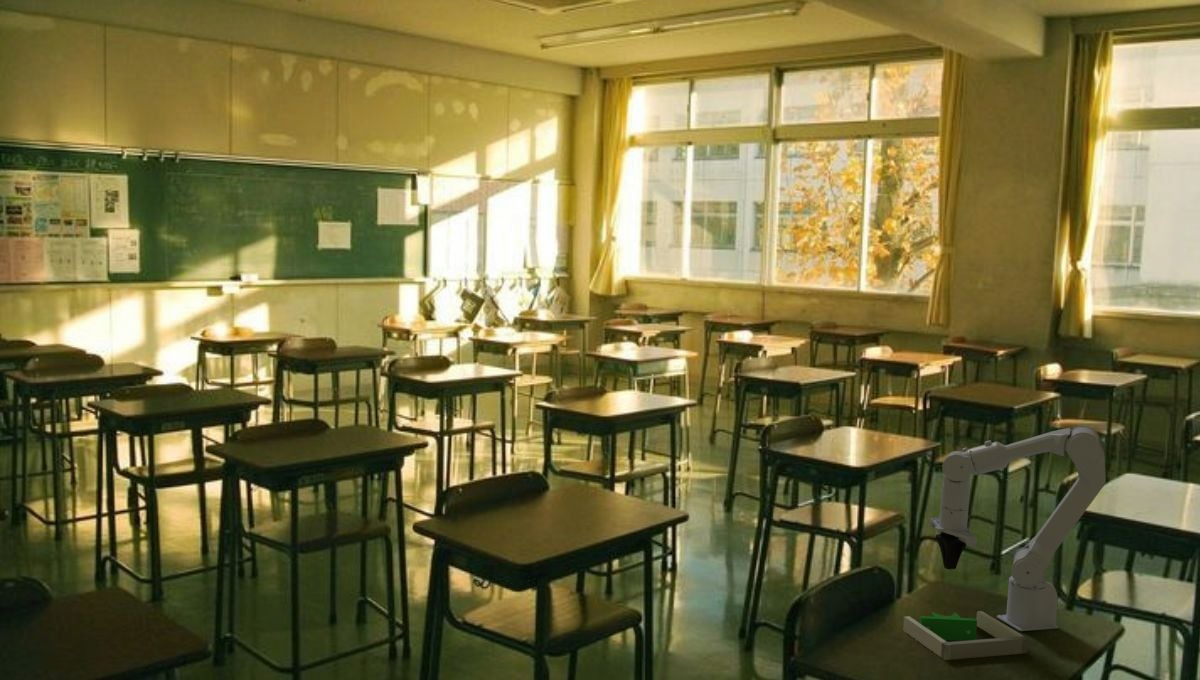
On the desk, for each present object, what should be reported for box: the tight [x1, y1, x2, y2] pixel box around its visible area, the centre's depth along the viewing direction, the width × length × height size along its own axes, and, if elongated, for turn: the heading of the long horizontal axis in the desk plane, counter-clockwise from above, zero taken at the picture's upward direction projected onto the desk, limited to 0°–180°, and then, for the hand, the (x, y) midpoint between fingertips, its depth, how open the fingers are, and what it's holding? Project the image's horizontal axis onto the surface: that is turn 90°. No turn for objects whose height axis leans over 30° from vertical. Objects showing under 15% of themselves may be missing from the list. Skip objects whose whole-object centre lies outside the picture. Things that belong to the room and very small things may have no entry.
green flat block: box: [918, 611, 978, 642], centre depth 207 cm, size 11×4×5 cm, turn 88°
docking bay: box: [902, 610, 1029, 661], centre depth 205 cm, size 18×15×3 cm
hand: (949, 568), depth 221 cm, fingers closed
